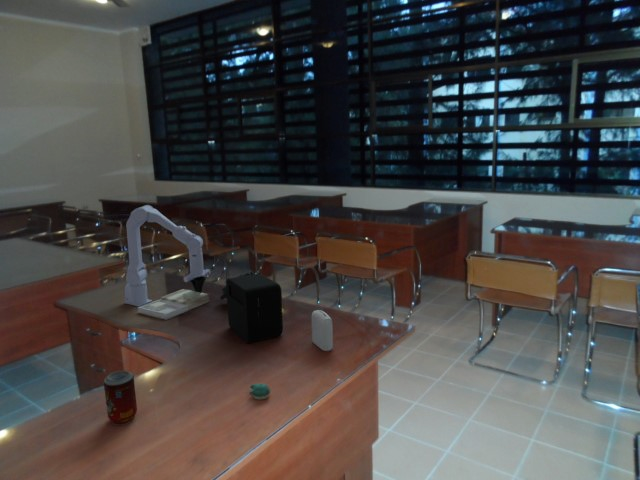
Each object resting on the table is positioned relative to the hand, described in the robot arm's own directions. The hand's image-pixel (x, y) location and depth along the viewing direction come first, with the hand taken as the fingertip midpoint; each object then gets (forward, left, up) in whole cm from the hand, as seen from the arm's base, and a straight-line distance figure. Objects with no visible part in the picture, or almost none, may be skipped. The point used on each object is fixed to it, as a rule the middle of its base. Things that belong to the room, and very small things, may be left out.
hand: (198, 293), depth 209 cm
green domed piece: (+72, -50, -5) cm, 88 cm away
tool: (+19, +9, -4) cm, 21 cm away
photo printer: (+72, -13, -4) cm, 73 cm away
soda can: (+49, -76, -4) cm, 91 cm away
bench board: (-4, -4, -4) cm, 7 cm away
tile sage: (0, -4, -1) cm, 4 cm away
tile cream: (-9, -16, -2) cm, 18 cm away
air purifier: (+44, -14, -4) cm, 46 cm away
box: (-4, -16, -4) cm, 18 cm away
